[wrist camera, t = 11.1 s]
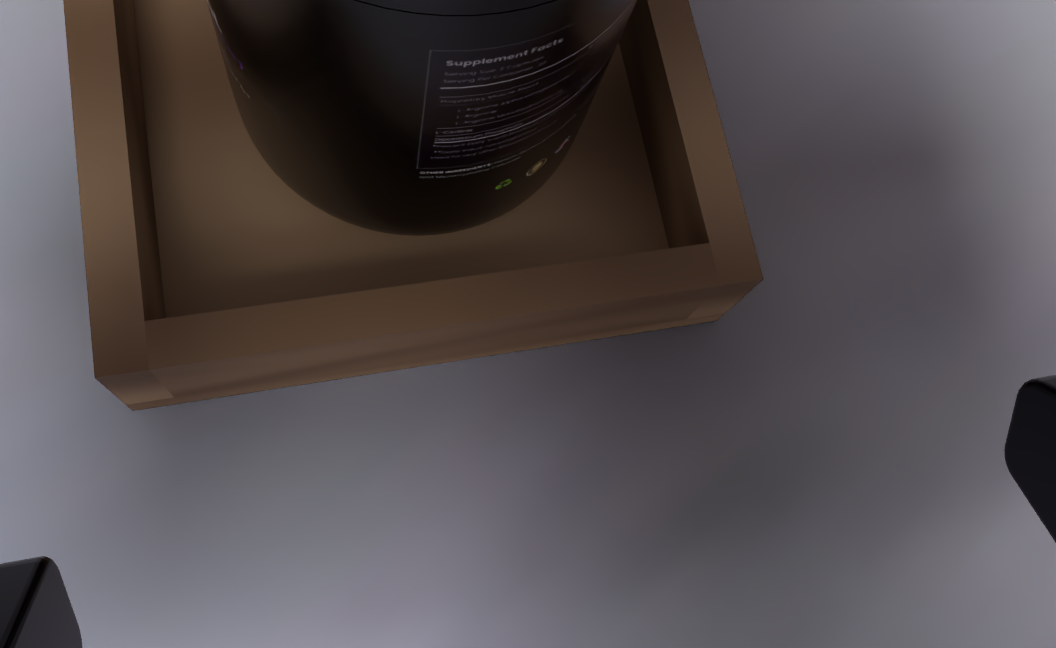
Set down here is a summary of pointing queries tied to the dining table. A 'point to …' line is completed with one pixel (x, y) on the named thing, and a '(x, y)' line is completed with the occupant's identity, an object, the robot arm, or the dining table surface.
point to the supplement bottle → (416, 99)
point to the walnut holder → (369, 256)
